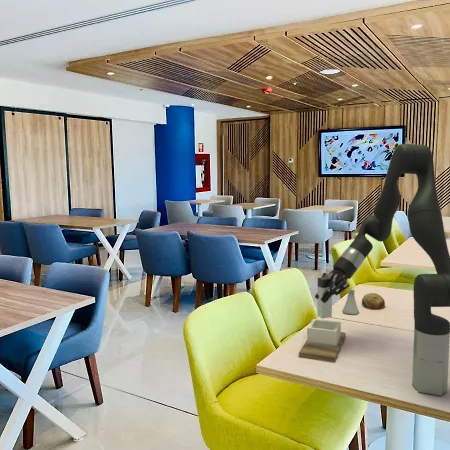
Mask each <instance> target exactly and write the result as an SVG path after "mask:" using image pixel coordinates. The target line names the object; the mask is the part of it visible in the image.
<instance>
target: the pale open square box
mask: <svg viewBox="0 0 450 450" xmlns="http://www.w3.org/2000/svg"><path fill="white" fill-rule="evenodd" d="M341 329H342V322H341V321H335V320H334V321H333V320H326V319H316V318H313V319H312V320H311V321H310V323H309V324H308V326H307V327H306V334H307V335H306V337H307V338H306V340H307V344H309V345H316V346H323V347H330V348H336V347H337V345H338V343H339V340H340V338H341V332H342V330H341Z"/></svg>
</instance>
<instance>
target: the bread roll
mask: <svg viewBox="0 0 450 450" xmlns="http://www.w3.org/2000/svg"><path fill="white" fill-rule="evenodd" d="M385 302H386V301H385V299H384V298H383V296H382V295H380V294H378V293H373V292H370V293H367V294H365V295H363V297H362V298H361V307H362V308H365V309H369V310H372V311H373V310H375V311H376V310H377V311H379V310H382V309H384V307H386V306H385V305H386V303H385Z"/></svg>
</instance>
